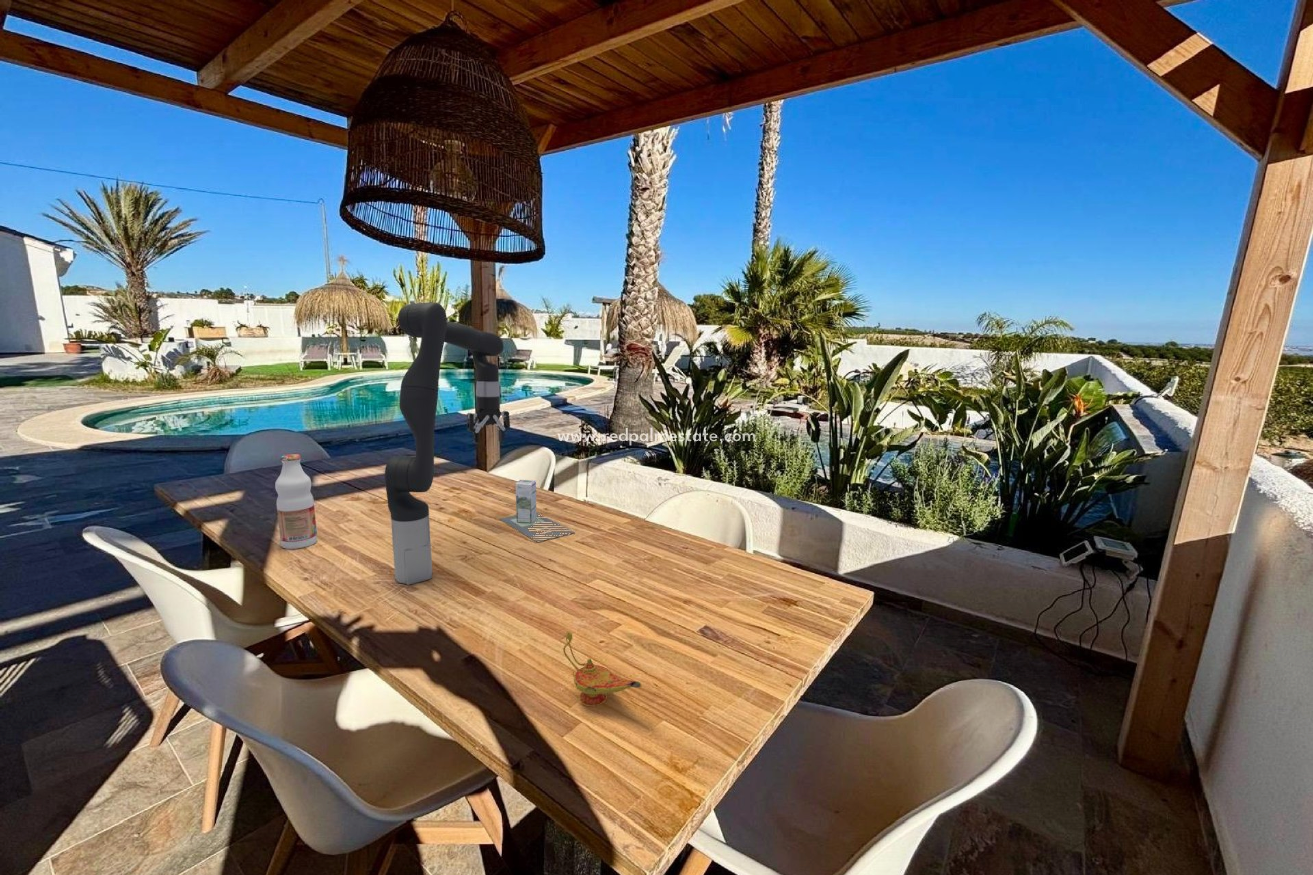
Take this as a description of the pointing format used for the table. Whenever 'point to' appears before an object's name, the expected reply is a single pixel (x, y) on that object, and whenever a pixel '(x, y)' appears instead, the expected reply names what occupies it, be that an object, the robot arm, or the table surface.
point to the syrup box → (526, 501)
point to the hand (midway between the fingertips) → (489, 442)
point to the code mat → (524, 527)
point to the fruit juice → (295, 505)
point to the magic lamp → (596, 680)
